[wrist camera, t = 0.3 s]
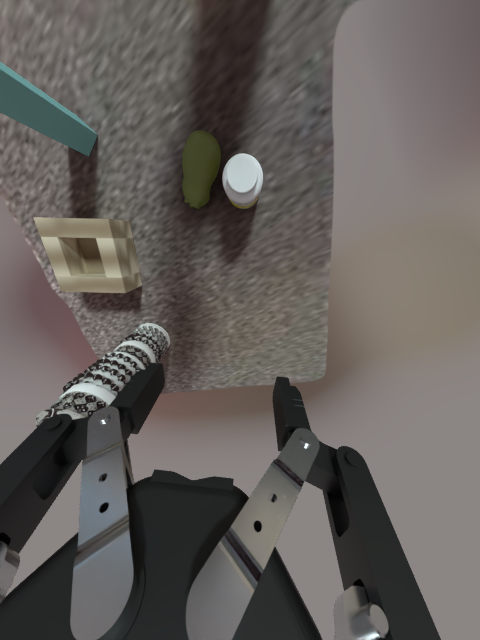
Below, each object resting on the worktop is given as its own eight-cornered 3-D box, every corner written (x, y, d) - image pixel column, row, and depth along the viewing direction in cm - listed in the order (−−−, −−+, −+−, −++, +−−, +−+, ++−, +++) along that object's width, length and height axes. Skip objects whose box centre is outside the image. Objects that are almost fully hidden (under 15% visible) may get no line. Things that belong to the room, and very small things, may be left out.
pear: (223, 137, 25) (203, 215, 31) (228, 145, 30) (210, 212, 35) (183, 116, 25) (170, 200, 30) (194, 128, 29) (181, 200, 35)
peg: (67, 138, 30) (-98, 48, 16) (75, 115, 29) (-94, -5, 15) (88, 156, 31) (-49, 87, 17) (97, 135, 30) (-42, 40, 15)
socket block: (66, 220, 35) (33, 217, 30) (129, 221, 35) (108, 219, 30) (86, 283, 40) (61, 291, 35) (142, 285, 40) (125, 293, 34)
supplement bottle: (240, 163, 31) (237, 132, 22) (266, 187, 32) (274, 167, 23) (221, 195, 33) (211, 180, 24) (246, 217, 34) (246, 210, 25)
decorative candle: (144, 313, 43) (28, 403, 20) (179, 337, 45) (110, 442, 22) (126, 340, 46) (7, 444, 23) (159, 360, 48) (81, 474, 25)
